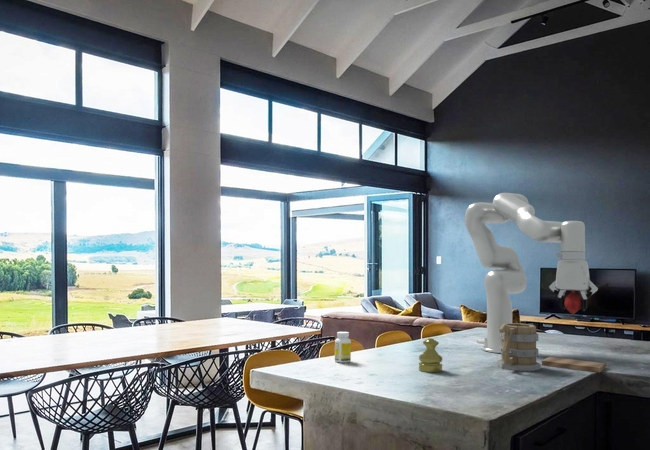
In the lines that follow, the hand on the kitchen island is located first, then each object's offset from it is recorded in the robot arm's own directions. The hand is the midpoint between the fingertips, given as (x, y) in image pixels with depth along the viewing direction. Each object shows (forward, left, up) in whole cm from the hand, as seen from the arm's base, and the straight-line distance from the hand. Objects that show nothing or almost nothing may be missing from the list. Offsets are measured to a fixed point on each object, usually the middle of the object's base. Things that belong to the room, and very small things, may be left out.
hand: (573, 309), depth 188 cm
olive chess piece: (-34, -39, -19) cm, 55 cm away
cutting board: (0, 0, -19) cm, 19 cm away
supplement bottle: (-63, -46, -19) cm, 80 cm away
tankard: (-14, -18, -19) cm, 30 cm away
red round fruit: (0, 0, -2) cm, 2 cm away
